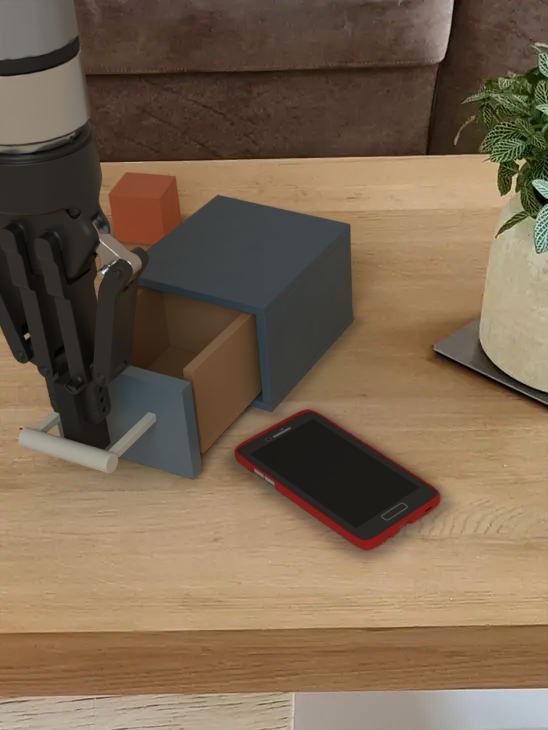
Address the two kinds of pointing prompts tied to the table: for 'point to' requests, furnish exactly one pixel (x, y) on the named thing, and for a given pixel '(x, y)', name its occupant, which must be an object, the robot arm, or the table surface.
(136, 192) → the block
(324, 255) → the cabinet
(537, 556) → the table surface
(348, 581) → the table surface
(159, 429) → the drawer
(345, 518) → the cell phone
